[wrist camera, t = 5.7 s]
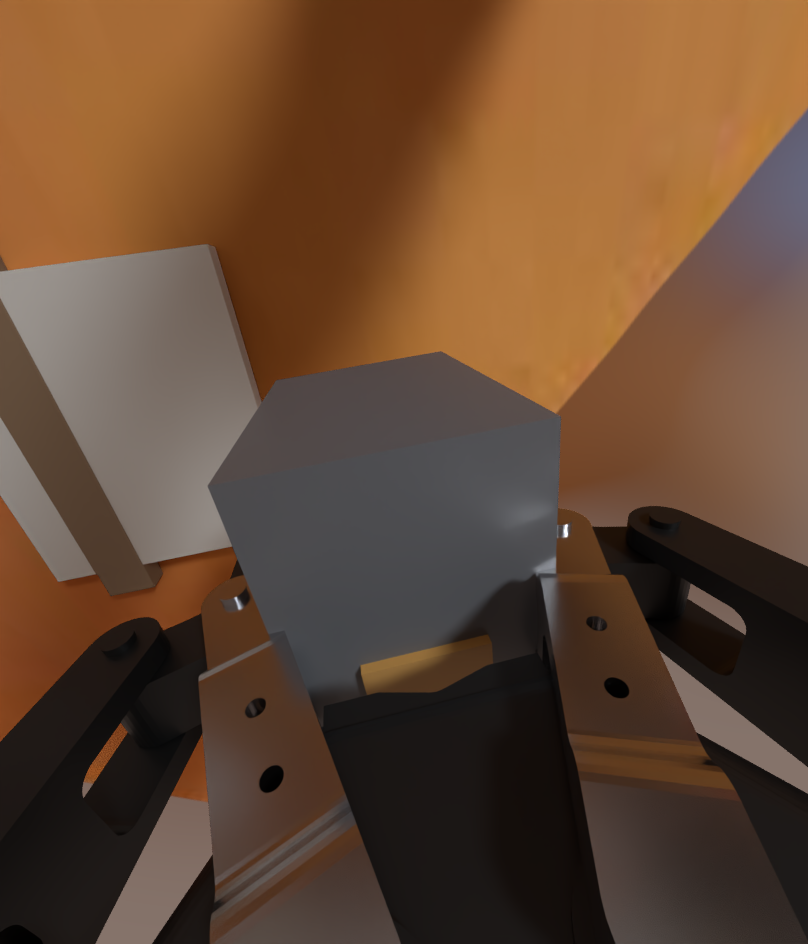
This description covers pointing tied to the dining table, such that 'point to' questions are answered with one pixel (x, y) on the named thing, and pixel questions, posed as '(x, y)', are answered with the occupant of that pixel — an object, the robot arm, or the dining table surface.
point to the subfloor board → (120, 409)
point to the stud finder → (394, 522)
